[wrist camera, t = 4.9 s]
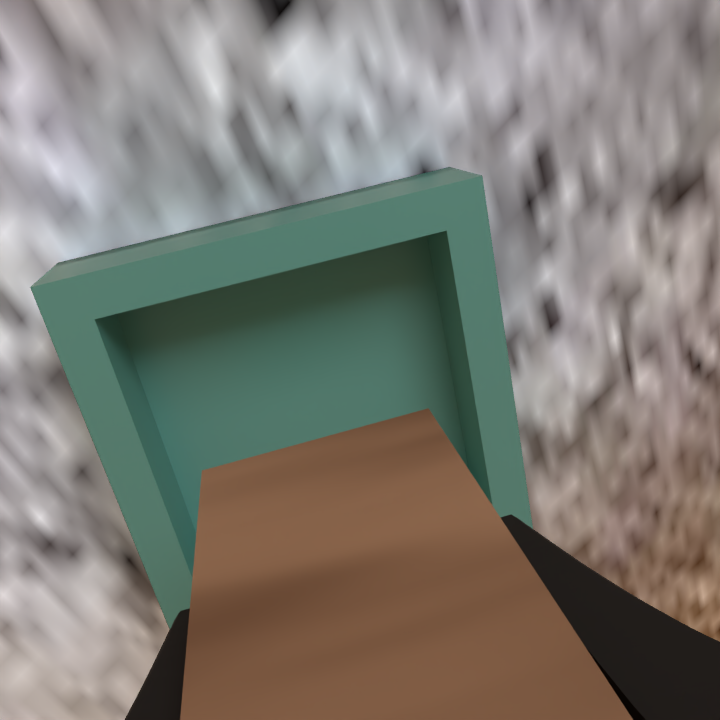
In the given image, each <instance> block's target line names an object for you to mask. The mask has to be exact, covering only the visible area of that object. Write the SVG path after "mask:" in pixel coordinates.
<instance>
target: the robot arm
mask: <svg viewBox="0 0 720 720" xmlns="http://www.w3.org/2000/svg"><path fill="white" fill-rule="evenodd" d="M500 518H501V519H502V521H503V522H504V524H505V525H506V527H507V529H508V530H509V532H510V533H511V535H512V536H513V538H514V539H515V541H516V542H517V544H518V545H519V547H520V548H521V550H522V551H523V553H524V554H525V556H526V557H527V559H528V561H529V562H530V564H531V565H532V567H533V568H534V570H535V571H536V573H537V574H538V576H539V577H540V579H541V580H542V582H543V583H544V585H545V586H546V588H547V589H548V591H549V592H550V594H551V596H552V597H553V599H554V600H555V602H556V603H557V605H558V606H559V608H560V609H561V611H562V612H563V614H564V615H565V617H566V618H567V620H568V621H569V623H570V624H571V626H572V627H573V629H574V631H575V632H576V634H577V635H578V637H579V638H580V640H581V641H582V643H583V644H584V646H585V647H586V649H587V650H588V652H589V653H590V655H591V656H592V658H593V659H594V661H595V662H596V664H597V666H598V667H599V669H600V670H601V672H602V673H603V675H604V676H605V678H606V679H607V681H608V682H609V684H610V685H611V687H612V688H613V690H614V691H615V693H616V694H617V696H618V697H619V699H620V701H621V702H622V704H623V705H624V707H625V708H626V710H627V711H628V713H629V714H630V716H631V717H632V719H633V720H720V642H719V641H717V640H715V639H713V638H710V637H708V636H706V635H704V634H702V633H700V632H698V631H696V630H694V629H692V628H690V627H688V626H686V625H685V624H683V623H681V622H679V621H677V620H675V619H674V618H672V617H670V616H668V615H666V614H665V613H663V612H661V611H659V610H657V609H656V608H654V607H652V606H650V605H649V604H647V603H645V602H643V601H642V600H640V599H638V598H637V597H635V596H633V595H632V594H630V593H628V592H627V591H625V590H623V589H622V588H620V587H619V586H617V585H615V584H614V583H612V582H611V581H609V580H608V579H606V578H604V577H603V576H601V575H600V574H598V573H596V572H595V571H593V570H592V569H590V568H589V567H587V566H586V565H584V564H583V563H581V562H580V561H578V560H577V559H575V558H574V557H572V556H571V555H569V554H568V553H566V552H565V551H563V550H562V549H561V548H559V547H558V546H556V545H555V544H553V543H552V542H551V541H549V540H548V539H546V538H545V537H543V536H542V535H541V534H539V533H538V532H536V531H535V530H534V529H532V528H531V527H530V526H528V525H527V524H525V523H524V522H523V521H521V520H520V519H518V518H517V517H515V516H513V515H512V514H510V515H507V516H504V517H500ZM189 612H190V608H189V609H185V610H182V611H180V612H179V613H178V615H177V617H176V618H175V620H174V622H173V624H172V626H171V628H170V630H169V632H168V634H167V637H166V639H165V641H164V643H163V645H162V647H161V649H160V651H159V653H158V655H157V657H156V659H155V662H154V664H153V666H152V668H151V670H150V672H149V674H148V676H147V678H146V680H145V682H144V684H143V686H142V688H141V690H140V692H139V694H138V695H137V697H136V699H135V701H134V703H133V705H132V707H131V709H130V711H129V713H128V714H127V716H126V718H125V720H180V716H181V704H182V693H183V681H184V670H185V658H186V647H187V635H188V624H189Z"/></svg>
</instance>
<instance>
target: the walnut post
mask: <svg viewBox="0 0 720 720" xmlns="http://www.w3.org/2000/svg"><path fill="white" fill-rule="evenodd" d="M180 720H633V719H632V717H631V716H630V714H629V713H628V711H627V710H626V708H625V707H624V705H623V704H622V702H621V701H620V699H619V697H618V696H617V694H616V693H615V691H614V690H613V688H612V687H611V685H610V684H609V682H608V681H607V679H606V678H605V676H604V675H603V673H602V672H601V670H600V669H599V667H598V666H597V664H596V662H595V661H594V659H593V658H592V656H591V655H590V653H589V652H588V650H587V649H586V647H585V646H584V644H583V643H582V641H581V640H580V638H579V637H578V635H577V634H576V632H575V631H574V629H573V627H572V626H571V624H570V623H569V621H568V620H567V618H566V617H565V615H564V614H563V612H562V611H561V609H560V608H559V606H558V605H557V603H556V602H555V600H554V599H553V597H552V596H551V594H550V592H549V591H548V589H547V588H546V586H545V585H544V583H543V582H542V580H541V579H540V577H539V576H538V574H537V573H536V571H535V570H534V568H533V567H532V565H531V564H530V562H529V561H528V559H527V557H526V556H525V554H524V553H523V551H522V550H521V548H520V547H519V545H518V544H517V542H516V541H515V539H514V538H513V536H512V535H511V533H510V532H509V530H508V529H507V527H506V525H505V524H504V522H503V521H502V519H501V518H500V516H499V515H498V513H497V512H496V510H495V509H494V507H493V506H492V504H491V503H490V501H489V500H488V498H487V497H486V495H485V494H484V492H483V490H482V489H481V487H480V486H479V484H478V483H477V481H476V480H475V478H474V477H473V475H472V474H471V472H470V471H469V469H468V468H467V466H466V465H465V463H464V462H463V460H462V459H461V457H460V455H459V454H458V452H457V451H456V449H455V448H454V446H453V445H452V443H451V442H450V440H449V439H448V437H447V436H446V434H445V433H444V431H443V430H442V428H441V427H440V425H439V424H438V422H437V420H436V419H435V417H434V416H433V414H432V413H431V411H430V410H429V408H427V409H424V410H420V411H417V412H413V413H409V414H406V415H402V416H398V417H395V418H391V419H387V420H384V421H380V422H377V423H373V424H369V425H366V426H362V427H358V428H355V429H351V430H347V431H344V432H340V433H337V434H333V435H329V436H326V437H322V438H318V439H315V440H311V441H307V442H304V443H300V444H297V445H293V446H289V447H286V448H282V449H278V450H275V451H271V452H267V453H264V454H260V455H257V456H253V457H249V458H246V459H242V460H238V461H235V462H231V463H227V464H224V465H220V466H217V467H213V468H209V469H206V470H202V474H201V486H200V497H199V509H198V520H197V532H196V543H195V555H194V566H193V578H192V589H191V601H190V612H189V624H188V635H187V647H186V658H185V670H184V681H183V693H182V704H181V716H180Z"/></svg>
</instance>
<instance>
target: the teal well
mask: <svg viewBox="0 0 720 720" xmlns="http://www.w3.org/2000/svg"><path fill="white" fill-rule="evenodd" d="M30 288H31V290H32V293H33V295H34V298H35V300H36V303H37V305H38V307H39V310H40V312H41V315H42V317H43V320H44V322H45V325H46V327H47V330H48V332H49V334H50V337H51V339H52V342H53V344H54V347H55V349H56V352H57V354H58V356H59V359H60V361H61V364H62V366H63V369H64V371H65V374H66V376H67V379H68V381H69V383H70V386H71V388H72V391H73V393H74V396H75V398H76V401H77V403H78V406H79V408H80V410H81V413H82V415H83V418H84V420H85V423H86V425H87V428H88V430H89V433H90V435H91V437H92V440H93V442H94V445H95V447H96V450H97V452H98V455H99V457H100V460H101V462H102V464H103V467H104V469H105V472H106V474H107V477H108V479H109V482H110V484H111V487H112V489H113V491H114V494H115V496H116V499H117V501H118V504H119V506H120V509H121V511H122V514H123V516H124V518H125V521H126V523H127V526H128V528H129V531H130V533H131V536H132V538H133V541H134V543H135V545H136V548H137V550H138V553H139V555H140V558H141V560H142V563H143V565H144V568H145V570H146V572H147V575H148V577H149V580H150V582H151V585H152V587H153V590H154V592H155V595H156V597H157V599H158V602H159V604H160V607H161V609H162V612H163V614H164V617H165V619H166V622H167V624H168V626H169V629H170V628H171V626H172V624H173V622H174V620H175V618H176V617H177V615H178V613H179V612H180V611H182V610H185V609H189V608H190V601H191V589H192V578H193V566H194V555H195V543H196V532H197V520H198V509H199V497H200V486H201V474H202V470H206V469H209V468H213V467H217V466H220V465H224V464H227V463H231V462H235V461H238V460H242V459H246V458H249V457H253V456H257V455H260V454H264V453H267V452H271V451H275V450H278V449H282V448H286V447H289V446H293V445H297V444H300V443H304V442H307V441H311V440H315V439H318V438H322V437H326V436H329V435H333V434H337V433H340V432H344V431H347V430H351V429H355V428H358V427H362V426H366V425H369V424H373V423H377V422H380V421H384V420H387V419H391V418H395V417H398V416H402V415H406V414H409V413H413V412H417V411H420V410H424V409H427V408H429V410H430V411H431V413H432V414H433V416H434V417H435V419H436V420H437V422H438V424H439V425H440V427H441V428H442V430H443V431H444V433H445V434H446V436H447V437H448V439H449V440H450V442H451V443H452V445H453V446H454V448H455V449H456V451H457V452H458V454H459V455H460V457H461V459H462V460H463V462H464V463H465V465H466V466H467V468H468V469H469V471H470V472H471V474H472V475H473V477H474V478H475V480H476V481H477V483H478V484H479V486H480V487H481V489H482V490H483V492H484V494H485V495H486V497H487V498H488V500H489V501H490V503H491V504H492V506H493V507H494V509H495V510H496V512H497V513H498V515H499V516H500V517H504V516H507V515H510V514H512V515H513V516H515V517H517V518H518V519H520V520H521V521H523V522H524V523H525V524H527V525H528V526H530V527H531V528H532V529H533V527H532V520H531V513H530V506H529V499H528V492H527V485H526V478H525V471H524V464H523V457H522V450H521V443H520V436H519V429H518V422H517V415H516V408H515V401H514V394H513V387H512V380H511V373H510V366H509V359H508V352H507V345H506V338H505V331H504V324H503V317H502V310H501V303H500V296H499V289H498V282H497V275H496V268H495V261H494V254H493V247H492V240H491V233H490V226H489V219H488V212H487V206H486V199H485V192H484V185H483V178H482V176H481V175H478V174H474V173H470V172H466V171H462V170H459V169H455V168H451V167H448V168H444V169H440V170H436V171H432V172H427V173H423V174H419V175H415V176H411V177H407V178H403V179H399V180H395V181H391V182H387V183H382V184H378V185H374V186H370V187H366V188H362V189H358V190H354V191H350V192H346V193H342V194H337V195H333V196H329V197H325V198H321V199H317V200H313V201H309V202H305V203H301V204H297V205H292V206H288V207H284V208H280V209H276V210H272V211H268V212H264V213H260V214H256V215H252V216H247V217H243V218H239V219H235V220H231V221H227V222H223V223H219V224H215V225H211V226H207V227H202V228H198V229H194V230H190V231H186V232H182V233H178V234H174V235H170V236H166V237H162V238H157V239H153V240H149V241H145V242H141V243H137V244H133V245H129V246H125V247H121V248H117V249H112V250H108V251H104V252H100V253H96V254H92V255H88V256H84V257H80V258H76V259H72V260H67V261H63V262H59V263H57V264H56V265H55V266H54V267H53V268H52V269H51V270H49V271H48V272H47V273H46V274H45V275H44V276H43V277H41V278H40V279H39V280H38V281H37V282H36V283H35V284H33V285H32V286H31V287H30Z"/></svg>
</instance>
